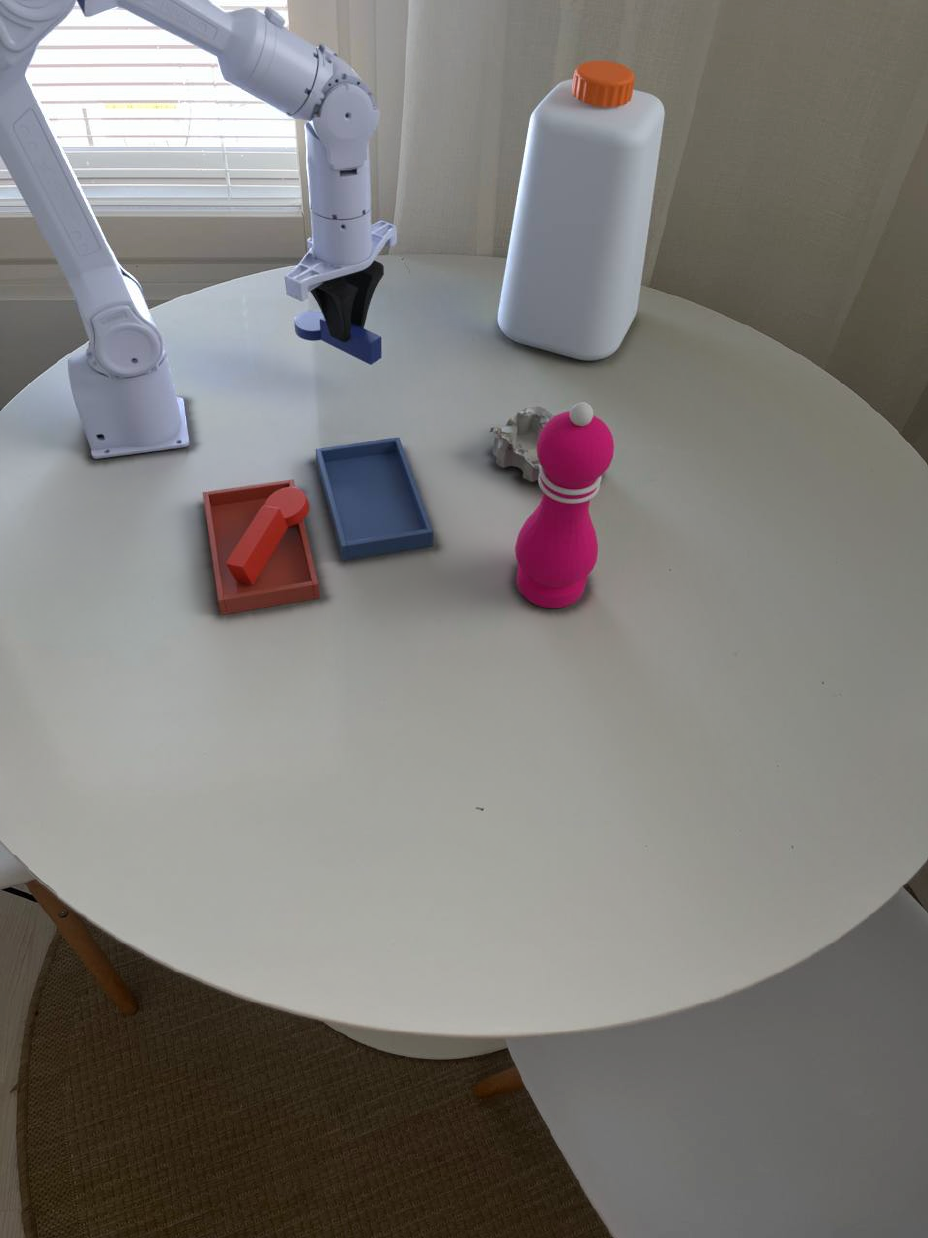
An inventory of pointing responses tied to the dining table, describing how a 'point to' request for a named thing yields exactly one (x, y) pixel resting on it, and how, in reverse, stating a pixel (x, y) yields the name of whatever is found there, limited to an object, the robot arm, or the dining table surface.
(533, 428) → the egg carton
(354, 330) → the blue spoon
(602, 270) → the plastic bottle
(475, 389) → the dining table surface
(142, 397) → the robot arm
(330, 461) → the blue tray
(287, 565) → the red tray
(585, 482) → the pepper mill
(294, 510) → the red spoon
